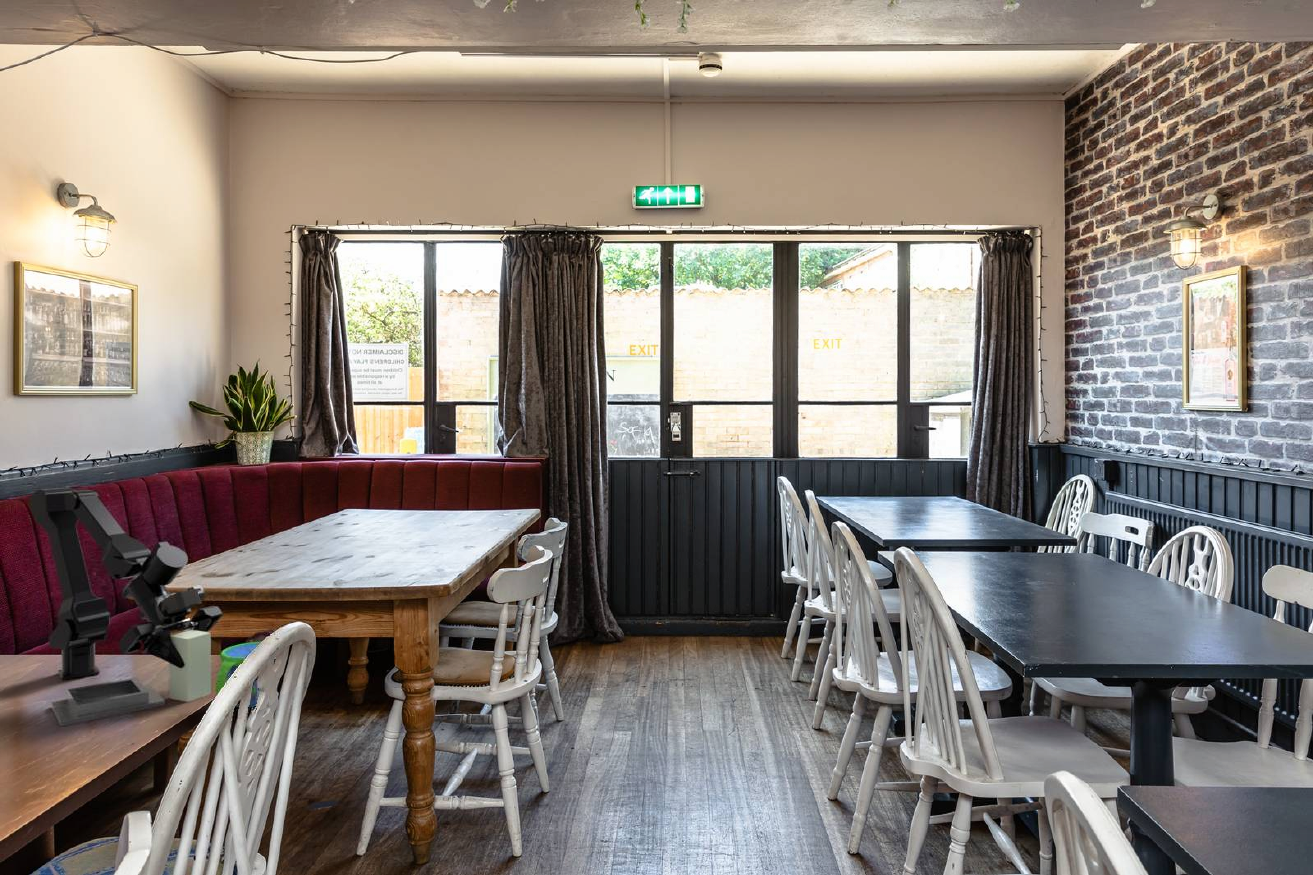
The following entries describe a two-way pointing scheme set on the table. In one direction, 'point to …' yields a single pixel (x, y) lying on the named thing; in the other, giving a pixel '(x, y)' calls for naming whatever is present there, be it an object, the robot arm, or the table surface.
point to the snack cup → (236, 666)
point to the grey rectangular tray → (105, 701)
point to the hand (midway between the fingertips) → (195, 663)
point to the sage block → (191, 666)
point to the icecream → (260, 636)
